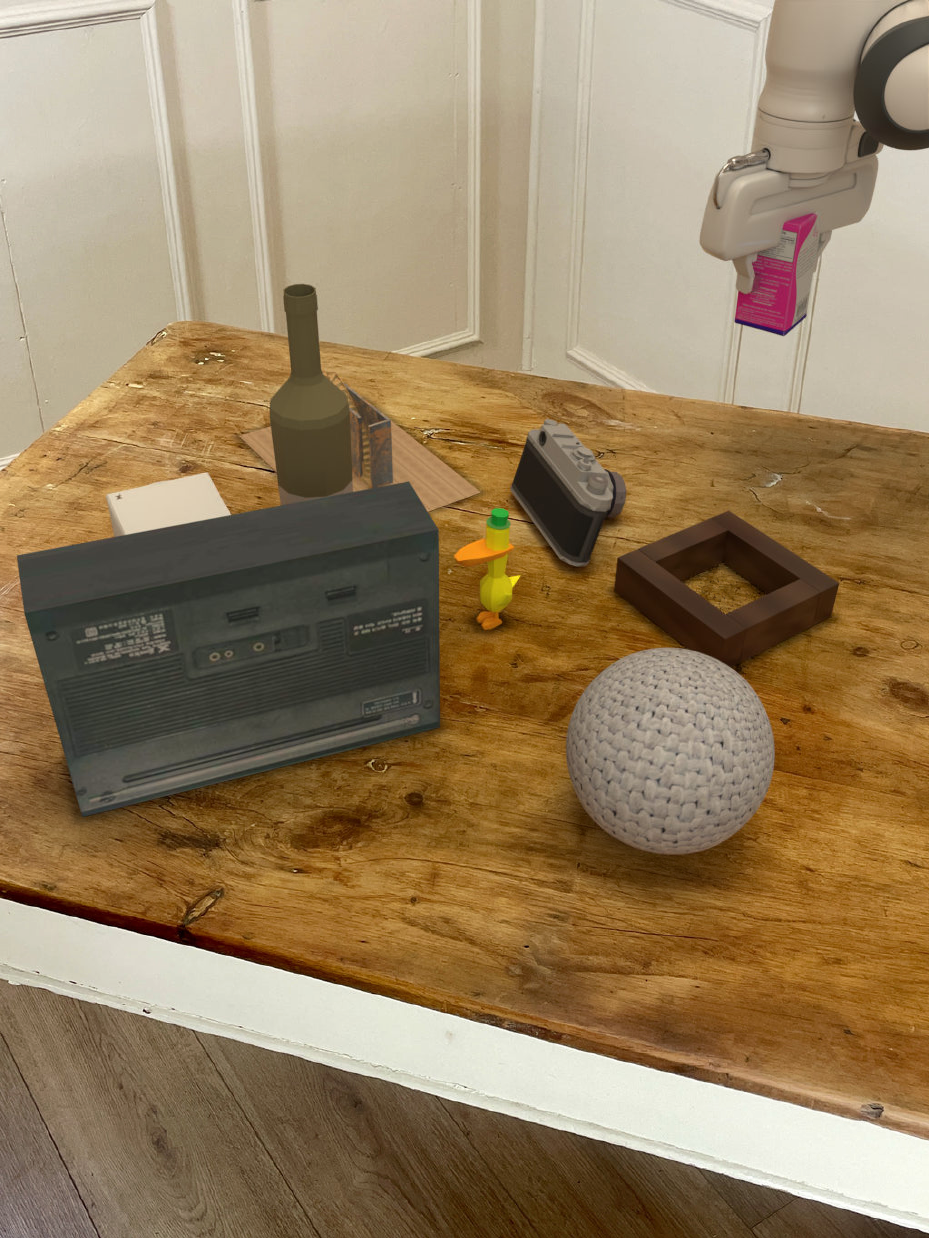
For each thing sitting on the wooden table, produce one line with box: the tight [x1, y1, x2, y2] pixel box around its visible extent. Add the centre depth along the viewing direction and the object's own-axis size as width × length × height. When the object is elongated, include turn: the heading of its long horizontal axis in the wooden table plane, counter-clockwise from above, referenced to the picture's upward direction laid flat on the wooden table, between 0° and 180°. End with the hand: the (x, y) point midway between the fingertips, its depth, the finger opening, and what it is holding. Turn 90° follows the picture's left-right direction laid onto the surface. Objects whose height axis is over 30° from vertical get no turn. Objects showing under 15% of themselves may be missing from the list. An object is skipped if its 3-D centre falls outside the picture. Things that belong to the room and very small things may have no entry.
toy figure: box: [453, 507, 522, 631], centre depth 107 cm, size 7×4×12 cm, turn 119°
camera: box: [510, 418, 627, 567], centre depth 121 cm, size 16×9×10 cm, turn 20°
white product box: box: [105, 472, 232, 537], centre depth 103 cm, size 9×9×15 cm
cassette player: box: [16, 481, 441, 818], centre depth 92 cm, size 29×7×20 cm, turn 110°
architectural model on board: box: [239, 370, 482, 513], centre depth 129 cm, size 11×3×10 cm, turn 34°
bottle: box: [269, 283, 353, 506], centre depth 105 cm, size 7×7×30 cm
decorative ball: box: [565, 647, 776, 856], centre depth 87 cm, size 15×15×15 cm
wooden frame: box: [613, 510, 840, 668], centre depth 112 cm, size 14×14×4 cm
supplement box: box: [733, 211, 821, 337], centre depth 120 cm, size 6×6×12 cm
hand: (776, 281), depth 121 cm, fingers closed on supplement box, 7 cm apart
